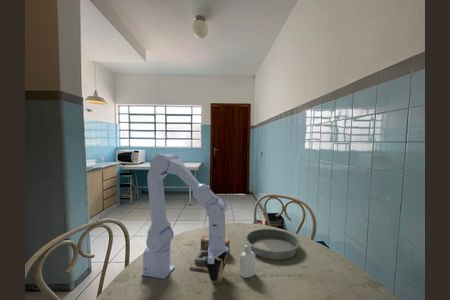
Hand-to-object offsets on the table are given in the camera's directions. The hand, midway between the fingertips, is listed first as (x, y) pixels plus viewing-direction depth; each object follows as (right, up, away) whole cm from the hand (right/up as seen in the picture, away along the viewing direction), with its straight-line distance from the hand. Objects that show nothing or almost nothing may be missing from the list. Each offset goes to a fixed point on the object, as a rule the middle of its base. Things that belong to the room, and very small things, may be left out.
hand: (217, 273), depth 74 cm
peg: (0, -2, 0) cm, 2 cm away
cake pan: (+25, -3, +25) cm, 35 cm away
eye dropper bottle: (+11, -3, +3) cm, 12 cm away
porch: (-3, -2, +13) cm, 14 cm away
